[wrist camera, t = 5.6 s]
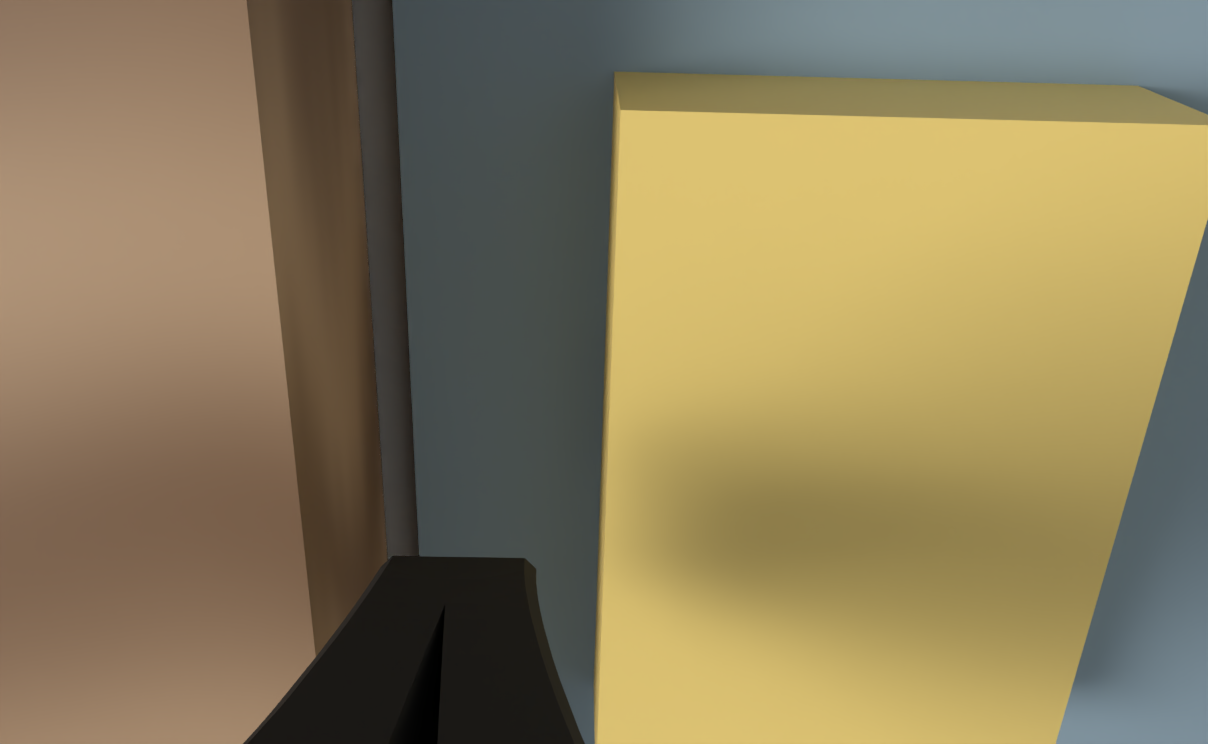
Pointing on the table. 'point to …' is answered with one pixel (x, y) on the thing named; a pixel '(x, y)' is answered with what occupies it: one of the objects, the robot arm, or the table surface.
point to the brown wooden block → (179, 363)
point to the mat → (580, 266)
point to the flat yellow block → (875, 397)
